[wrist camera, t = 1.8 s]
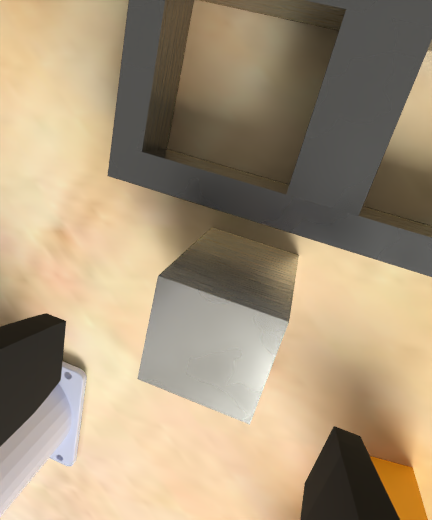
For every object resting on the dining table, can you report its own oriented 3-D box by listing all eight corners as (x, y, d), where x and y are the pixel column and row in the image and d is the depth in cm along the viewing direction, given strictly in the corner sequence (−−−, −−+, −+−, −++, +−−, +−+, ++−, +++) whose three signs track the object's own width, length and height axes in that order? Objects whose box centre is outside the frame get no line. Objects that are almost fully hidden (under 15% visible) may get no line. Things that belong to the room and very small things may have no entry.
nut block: (193, 302, 18) (137, 379, 12) (212, 227, 16) (157, 275, 11) (271, 330, 17) (249, 424, 11) (298, 255, 15) (288, 322, 10)
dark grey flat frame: (136, 170, 16) (107, 175, 14) (169, -49, 13) (139, -86, 11) (516, 285, 14) (554, 315, 11) (668, 50, 10) (762, 28, 8)
